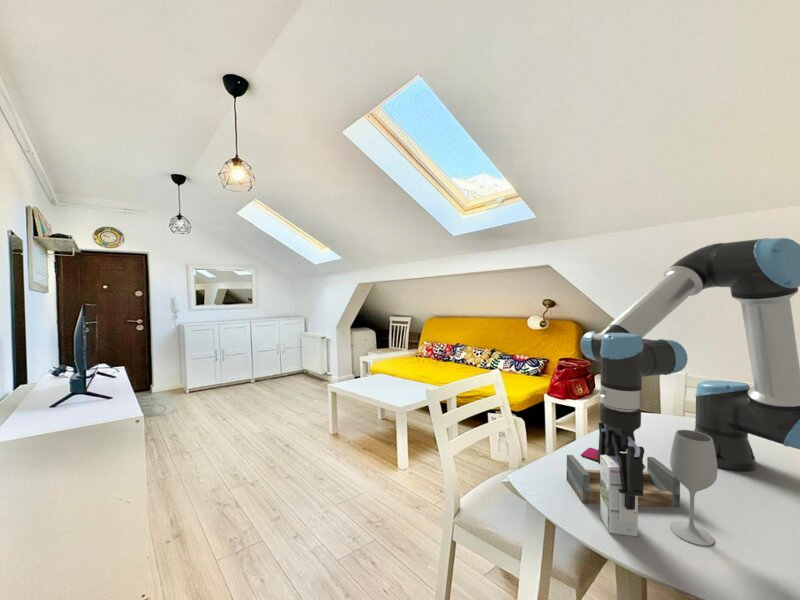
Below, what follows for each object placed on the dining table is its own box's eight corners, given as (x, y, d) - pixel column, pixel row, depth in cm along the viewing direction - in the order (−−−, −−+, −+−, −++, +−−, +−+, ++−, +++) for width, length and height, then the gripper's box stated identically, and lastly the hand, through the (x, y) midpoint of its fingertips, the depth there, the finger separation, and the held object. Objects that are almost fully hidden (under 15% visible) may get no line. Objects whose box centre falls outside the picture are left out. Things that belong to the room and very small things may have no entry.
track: (652, 483, 94) (653, 457, 94) (679, 506, 84) (680, 477, 84) (566, 480, 96) (566, 454, 95) (582, 503, 86) (583, 474, 85)
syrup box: (638, 537, 74) (640, 468, 73) (607, 533, 75) (608, 466, 74) (627, 519, 80) (628, 455, 79) (598, 516, 81) (599, 453, 80)
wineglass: (659, 522, 78) (661, 428, 77) (691, 520, 79) (694, 427, 78) (690, 548, 71) (693, 444, 70) (725, 545, 71) (729, 442, 71)
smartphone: (589, 446, 114) (644, 463, 103) (589, 449, 114) (644, 466, 103) (579, 454, 109) (637, 473, 98) (579, 457, 109) (637, 476, 98)
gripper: (582, 392, 86) (581, 485, 87) (626, 422, 67) (623, 542, 68) (615, 392, 85) (613, 486, 86) (668, 423, 66) (665, 544, 67)
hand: (617, 510), depth 77 cm, fingers closed on syrup box, 6 cm apart
